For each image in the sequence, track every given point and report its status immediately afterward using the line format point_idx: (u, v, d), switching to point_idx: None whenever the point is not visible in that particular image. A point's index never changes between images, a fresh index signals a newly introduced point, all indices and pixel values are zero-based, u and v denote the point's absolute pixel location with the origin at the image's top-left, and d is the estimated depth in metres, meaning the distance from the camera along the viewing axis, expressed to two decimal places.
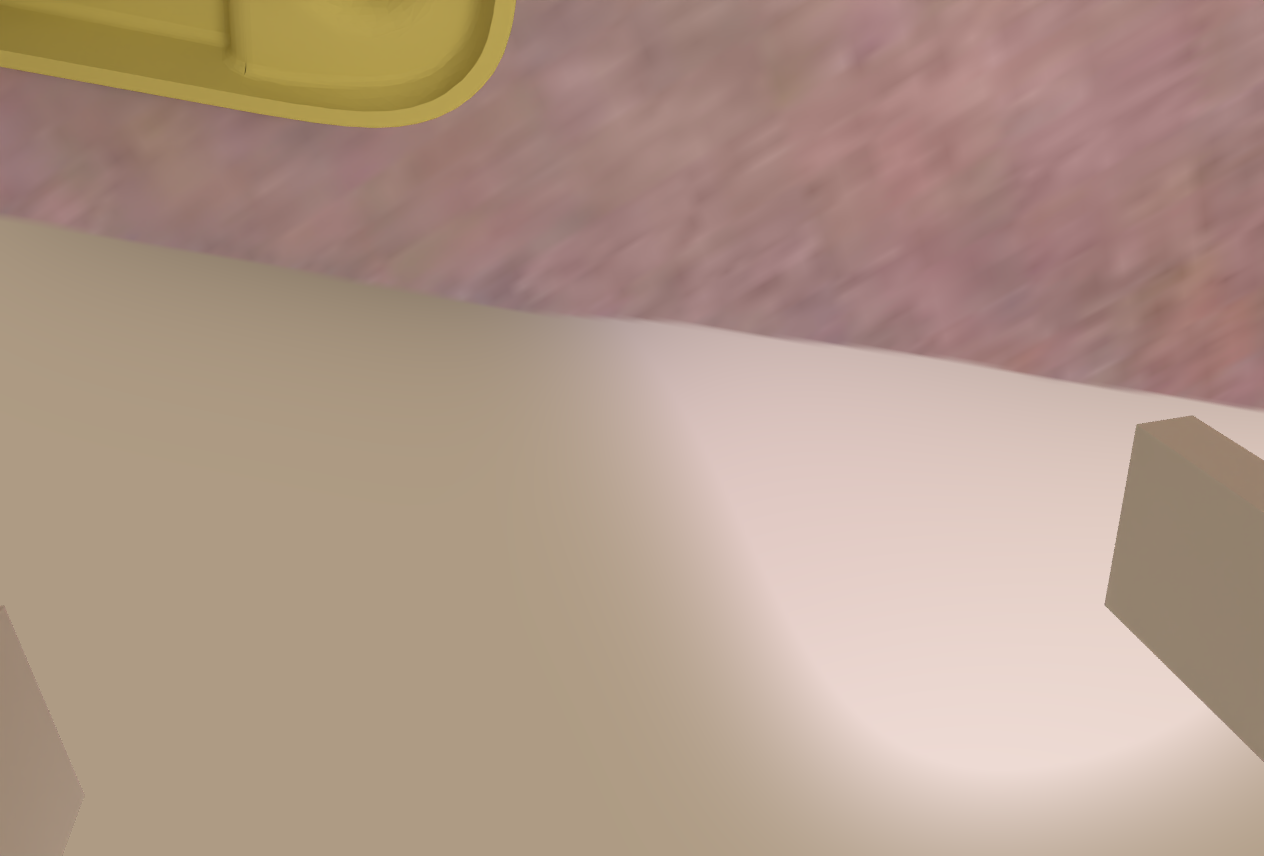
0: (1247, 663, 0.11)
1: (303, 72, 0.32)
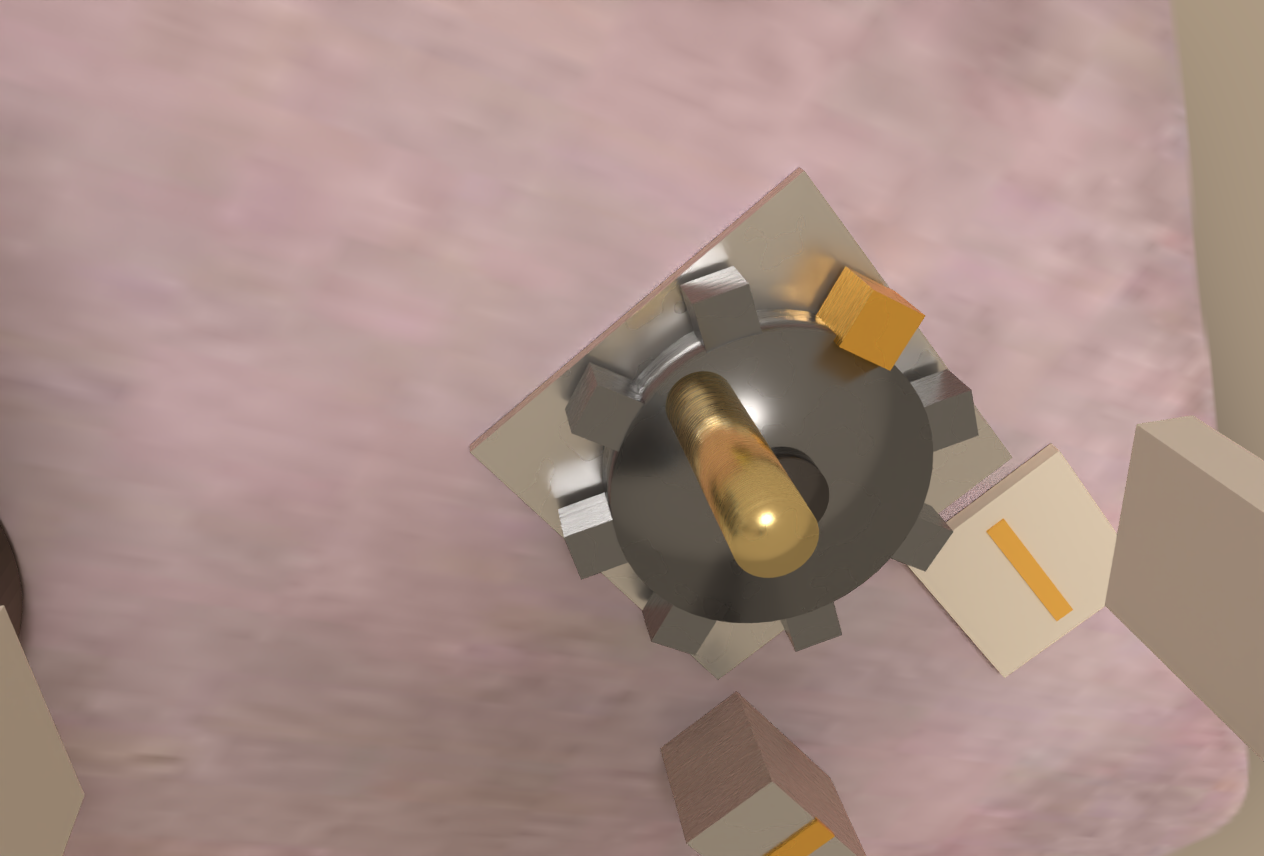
0: (1247, 663, 0.11)
1: None
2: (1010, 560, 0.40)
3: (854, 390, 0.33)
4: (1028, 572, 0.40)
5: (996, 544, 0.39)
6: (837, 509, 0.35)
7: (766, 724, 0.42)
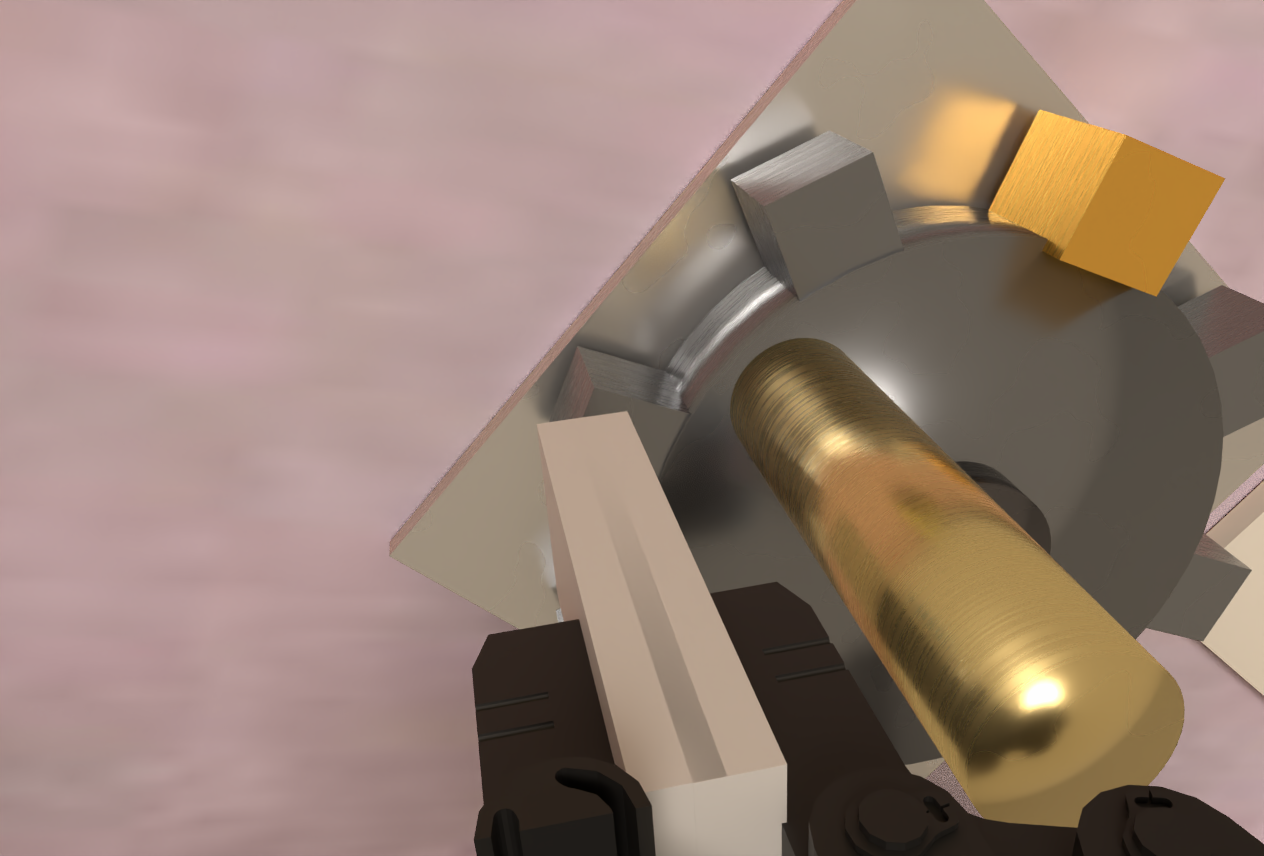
0: None
1: None
2: None
3: (1083, 341, 0.17)
4: None
5: None
6: (1053, 560, 0.19)
7: None
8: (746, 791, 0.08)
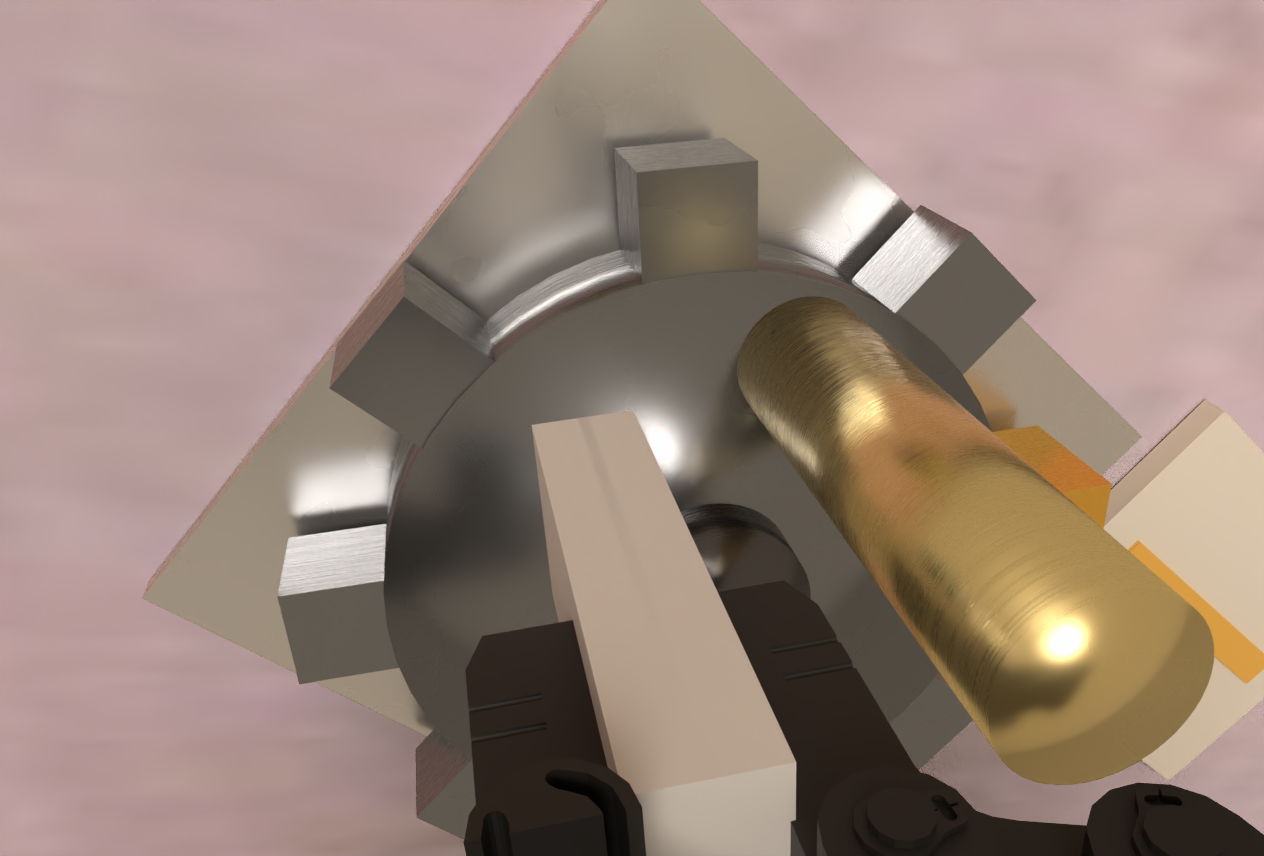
0: None
1: None
2: None
3: None
4: None
5: None
6: None
7: None
8: (755, 789, 0.08)
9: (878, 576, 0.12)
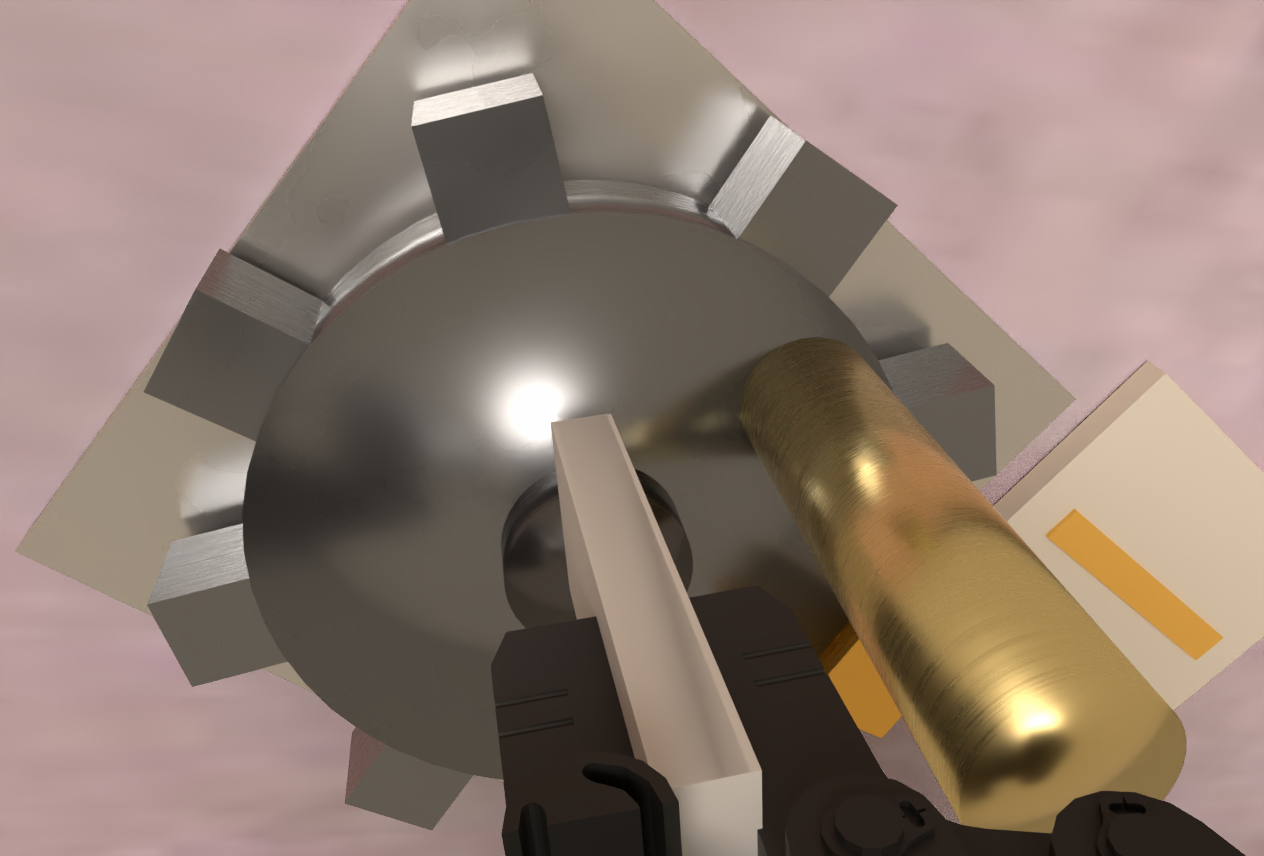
0: None
1: None
2: (1097, 577, 0.22)
3: None
4: (1134, 591, 0.23)
5: (1068, 554, 0.22)
6: None
7: None
8: (721, 797, 0.08)
9: (874, 592, 0.11)
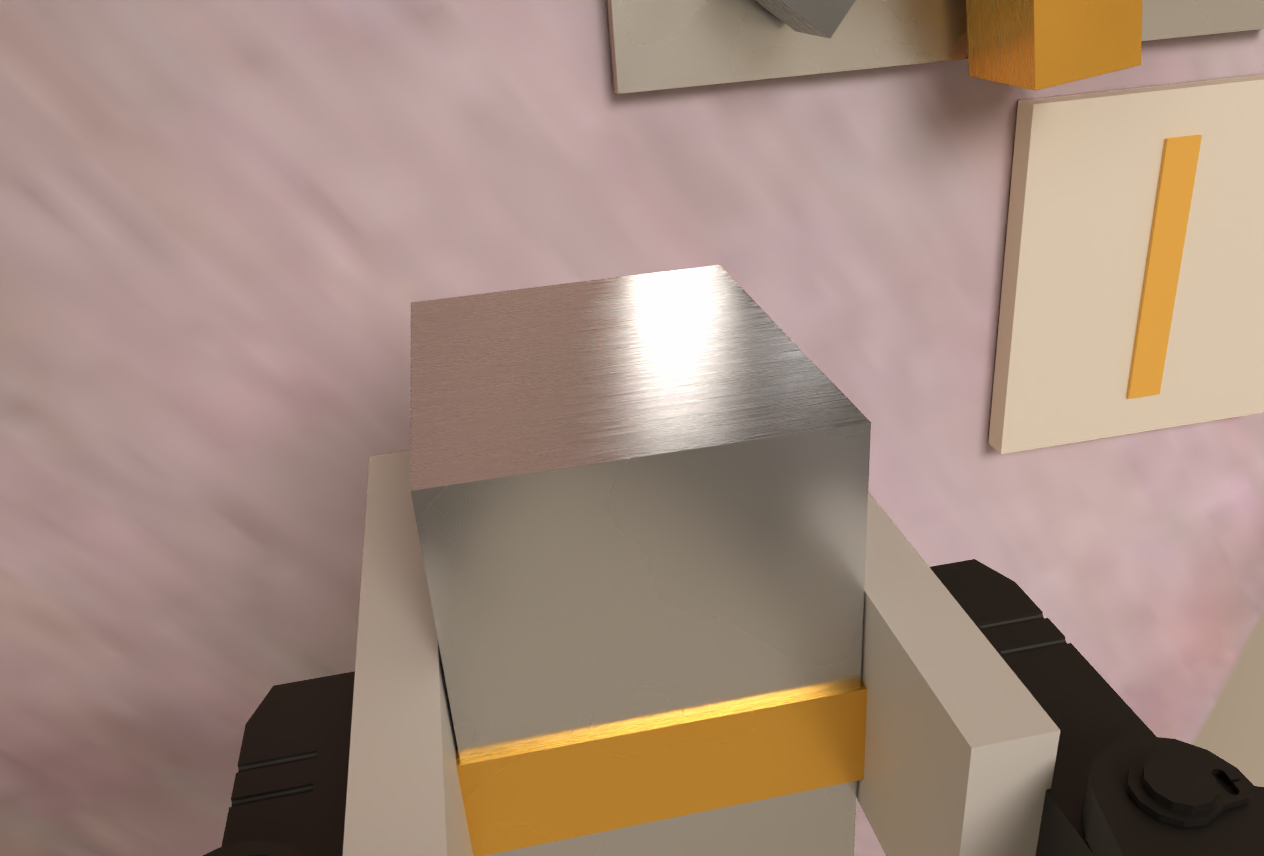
0: None
1: None
2: (1156, 225, 0.22)
3: None
4: (1160, 270, 0.23)
5: (1161, 175, 0.22)
6: None
7: None
8: (1019, 757, 0.08)
9: None
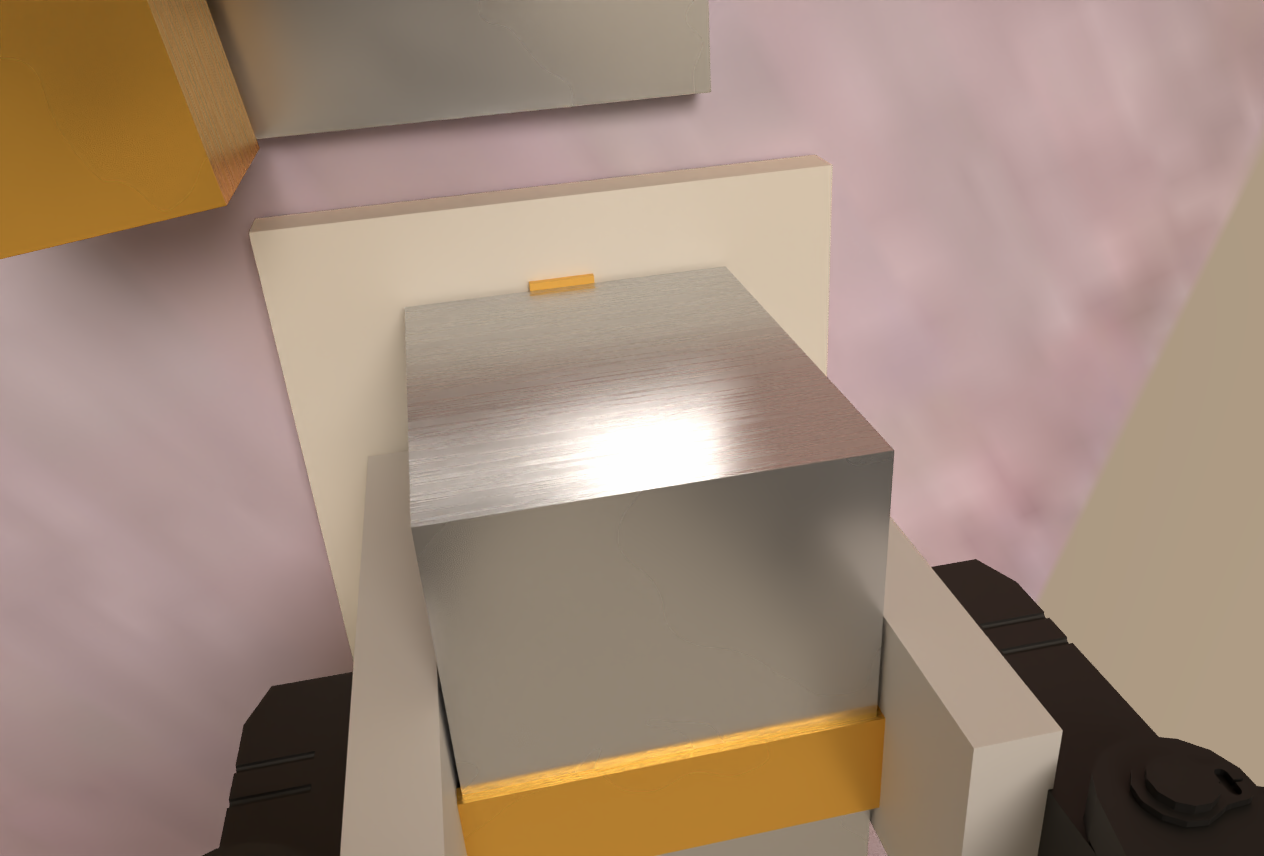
0: None
1: None
2: None
3: None
4: None
5: None
6: None
7: None
8: (1021, 757, 0.08)
9: None
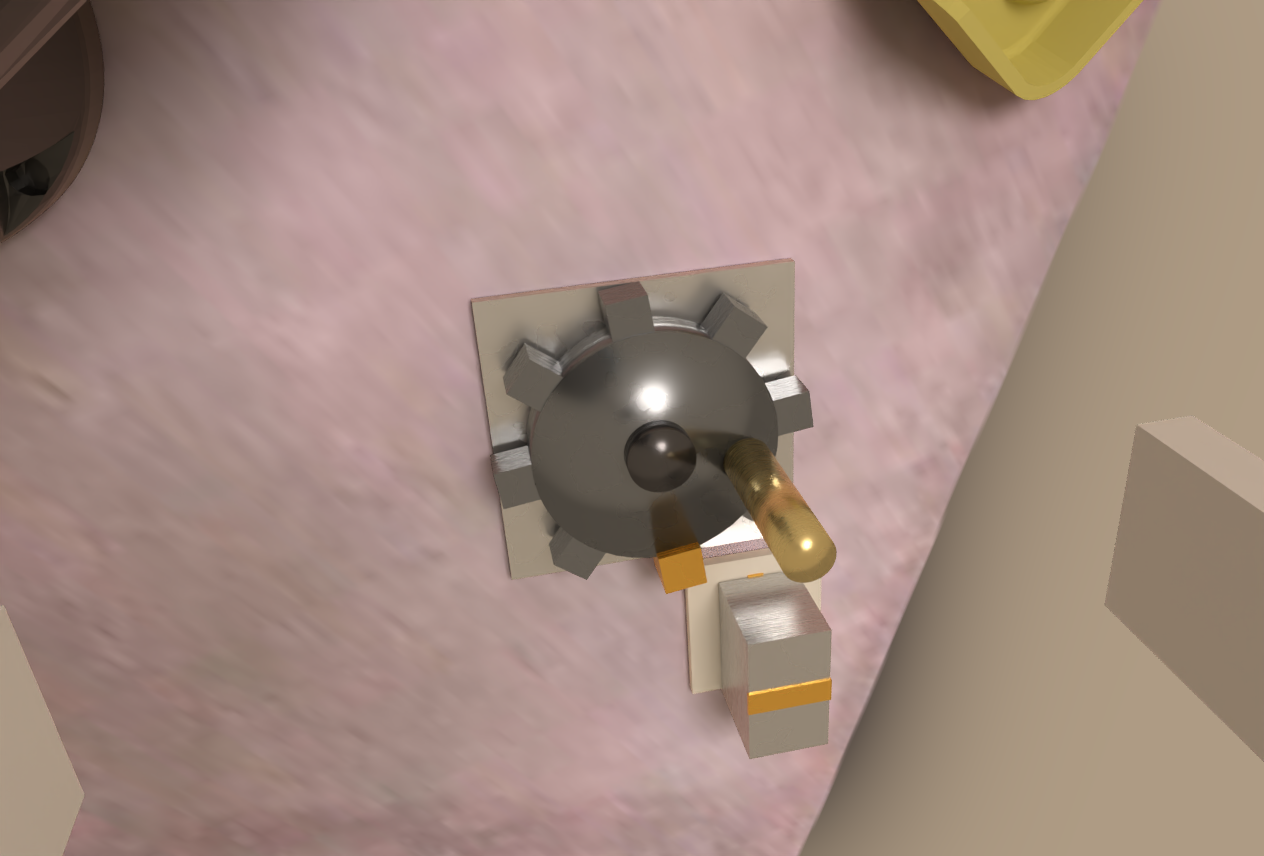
0: (1247, 663, 0.11)
1: None
2: None
3: (660, 530, 0.47)
4: None
5: None
6: (602, 467, 0.45)
7: None
8: None
9: (778, 503, 0.41)
